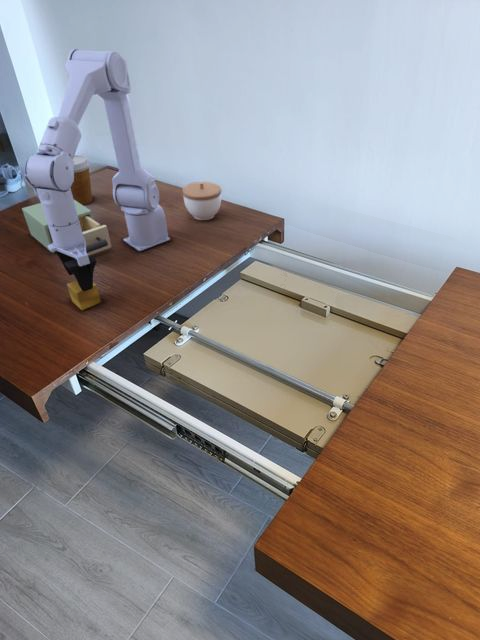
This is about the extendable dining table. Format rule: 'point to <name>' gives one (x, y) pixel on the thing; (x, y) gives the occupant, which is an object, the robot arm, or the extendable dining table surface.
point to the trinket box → (202, 199)
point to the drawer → (93, 235)
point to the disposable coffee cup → (81, 180)
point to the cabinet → (39, 223)
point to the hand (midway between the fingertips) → (80, 281)
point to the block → (83, 295)
